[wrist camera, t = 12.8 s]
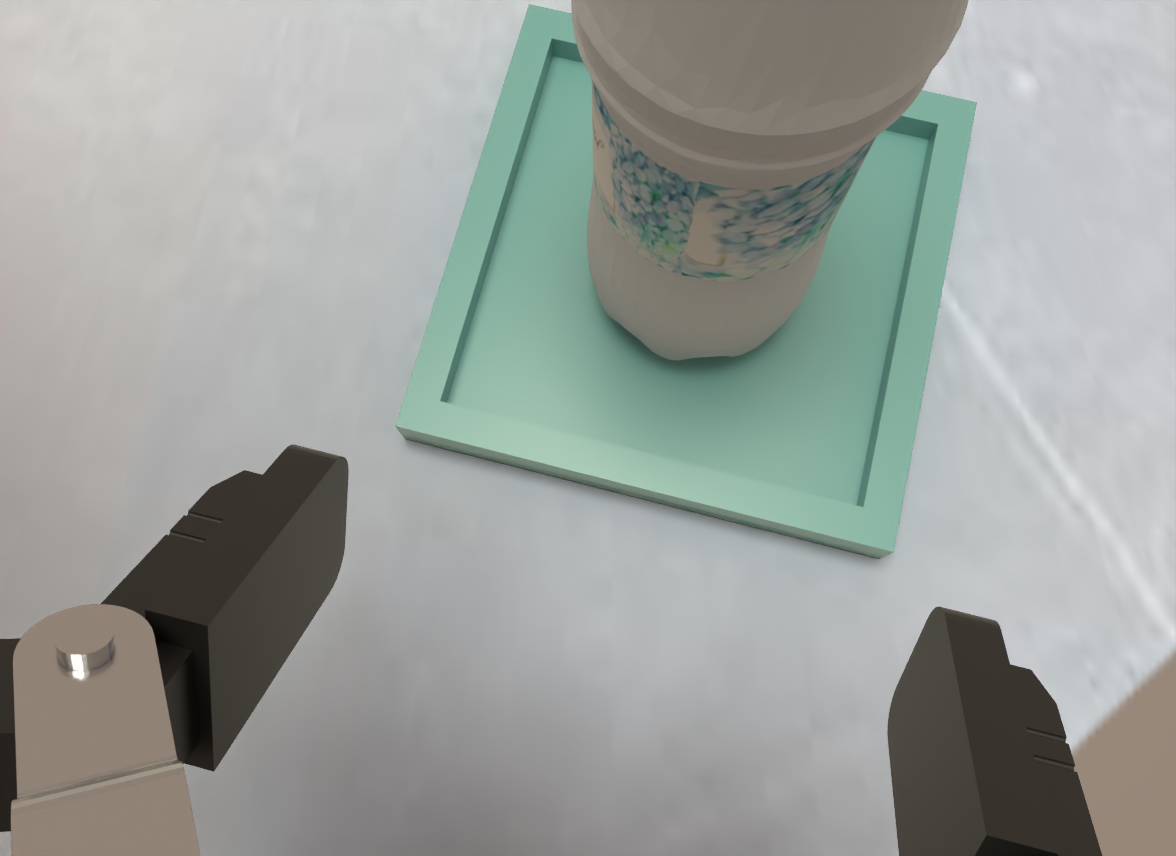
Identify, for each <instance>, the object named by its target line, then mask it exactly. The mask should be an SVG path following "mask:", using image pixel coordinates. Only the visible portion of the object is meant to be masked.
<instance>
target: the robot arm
mask: <svg viewBox="0 0 1176 856" xmlns="http://www.w3.org/2000/svg"><path fill="white" fill-rule="evenodd" d="M347 491H348V463H347V460H346V458H345V457H341V456H337V455H333V454H329V453H325V452H321V451H317V450H313V449H309V448H305V447H301V446H297V445H290V446H288V447H287V448H286V449H285V450H284V451H283V452H282V453H281V455H280V456H279V457H278V458H277V459H276V460H275V461H274V463H273V464H272V465H271V466H270V467H269V468H268V469H267V471H266V472H265V473H264V474H263V475H261V474H257V473H253V472H249V471H245V470H244V471H242V472H240V473H238V474H236V475H234V476H232V477H230V478H228V479H226V480H224V481H222V482H220V483H218V484H216V485H214V486H212V487H211V488H210V489H209V490H208V491H207V492H206V493H205V494H204V495H203V496H202V497H201V498H200V499H199V500H198V501H197V502H196V503H195V504H194V506H193V507H192V508H191V509H190V510H189V512H188V515H187V516H185V515H184V516H183V517H182V518H181V519H180V520H179V521H178V522H177V524H176V525H175V526H174V527H173V528H172V529H171V530H170V534H169V536H168V535H165V536H164V537H163V538H162V539H161V541H160V542H159V543H158V544H157V545H156V546H155V547H154V548H153V549H152V550H151V551H150V552H149V553H148V554H147V555H146V556H145V557H144V559H143V560H142V561H141V562H140V563H139V564H138V565H137V566H136V567H135V568H134V569H133V570H132V571H131V572H130V573H129V574H128V575H127V577H126V578H125V579H124V580H123V581H122V582H121V583H120V584H119V585H118V586H117V587H116V588H115V589H114V590H113V591H112V592H111V594H110V595H109V596H108V597H107V598H106V599H105V600H104V601H103V602H102V603H101V604H92V605H83V606H78V607H73V608H69V609H66V610H63V611H60V612H57V613H55V614H53V615H51V616H48V617H46V618H45V619H43V620H41V621H40V622H38V623H37V624H35V625H34V626H33V627H32V628H30V629H29V630H28V631H27V632H26V633H25V634H24V635H23V636H22V638H20V639H0V832H5V831H11V847H12V856H200V851H199V846H198V840H197V835H196V830H195V825H194V819H193V814H192V809H191V804H190V798H189V793H188V788H187V783H186V777H185V773H184V768H183V764H184V763H185V764H189V765H193V766H196V767H200V768H203V769H207V770H211V771H215V769H216V768H217V766H218V765H219V763H220V761H221V760H222V758H223V757H224V755H225V754H226V752H227V751H228V749H229V748H230V746H231V744H232V743H233V741H234V740H235V738H236V737H237V735H238V734H239V732H240V730H241V729H242V727H243V726H244V724H245V723H246V721H247V720H248V718H249V717H250V715H251V713H252V712H253V710H254V709H255V707H256V706H257V704H258V703H259V701H260V700H261V698H262V696H263V695H264V693H265V692H266V690H267V689H268V687H269V686H270V684H271V682H272V681H273V679H274V678H275V676H276V675H277V673H278V672H279V670H280V669H281V667H282V665H283V664H284V662H285V661H286V659H287V658H288V656H289V655H290V653H291V651H292V650H293V648H294V647H295V645H296V644H297V642H298V641H299V639H300V638H301V636H302V634H303V633H304V631H305V630H306V628H307V627H308V625H309V624H310V622H311V620H312V619H313V617H314V616H315V614H316V613H317V611H318V610H319V608H320V607H321V605H322V603H323V602H324V600H325V599H326V597H327V596H328V594H329V593H330V591H331V589H332V587H333V585H334V583H335V581H336V579H337V576H338V573H339V570H340V567H341V563H342V560H343V555H344V548H345V532H346V511H347ZM1065 741H1066V734H1065V731H1064V727H1063V724H1062V721H1061V717H1060V714H1059V711H1058V707H1057V704H1056V702H1055V701H1054V700H1053V698H1052V697H1051V696H1050V694H1049V693H1048V692H1047V690H1046V689H1045V688H1044V686H1043V685H1042V684H1041V682H1040V681H1039V680H1038V678H1037V677H1036V676H1035V674H1034V673H1033V672H1032V671H1031V670H1030V669H1026V668H1022V667H1018V666H1014V665H1010V663H1009V659H1008V655H1007V651H1006V648H1005V644H1004V640H1003V636H1002V632H1001V629H1000V626H999V624H998V623H997V622H996V621H995V620H991V619H987V618H983V617H979V616H975V615H971V614H967V613H963V612H959V611H955V610H951V609H947V608H943V607H936V608H935V609H934V610H933V611H932V612H931V614H930V615H929V617H928V619H927V621H926V623H925V626H924V628H923V630H922V632H921V634H920V637H919V639H918V641H917V643H916V645H915V648H914V650H913V652H912V654H911V656H910V659H909V661H908V663H907V665H906V667H905V670H904V672H903V674H902V676H901V678H900V681H899V683H898V685H897V687H896V690H895V692H894V695H893V699H892V702H891V707H890V712H889V719H888V745H889V756H890V766H891V776H892V786H893V797H894V807H895V817H896V827H897V838H898V848H899V856H1102V853H1101V850H1100V847H1099V843H1098V840H1097V837H1096V834H1095V830H1094V827H1093V824H1092V820H1091V817H1090V814H1089V810H1088V807H1087V804H1086V800H1085V797H1084V794H1083V790H1082V787H1081V784H1080V780H1079V777H1078V774H1077V772H1074V766H1075V764H1074V761H1073V757H1072V754H1071V751H1070V747H1069V744H1067V743H1065Z"/></svg>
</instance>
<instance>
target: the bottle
mask: <svg viewBox="0 0 1176 856" xmlns="http://www.w3.org/2000/svg"><path fill="white" fill-rule="evenodd" d="M967 4H968V0H572V23H573V30H574V36H575V40H576V43H577V47H578V50H579V53H580V56H581V58H582V61H583V63H584V65H585V67H586V69H587V71H588V73H589V75H590V77H591V79H592V131H593V182H592V190H591V197H590V204H589V212H588V222H587V251H588V260H589V268H590V272H591V276H592V280H593V284H594V288H595V291H596V294H597V297H598V299H599V301H600V303H601V305H602V307H603V309H604V310H605V312H606V314H607V315H608V316H609V317H610V318H611V319H613V320H615V321H616V322H618V323H619V324H620V325H622V326H623V327H624V328H625V329H626V330H628V331H629V332H630V333H631V334H633V335H634V336H635V337H636V338H638V339H639V340H640V341H641V342H642V343H643V344H644V345H646V346H647V347H648V348H649V349H650V350H651V351H652V352H653V353H655V354H657V355H659V356H660V357H663V358H666V359H668V360H677V361H679V360H684V359H690V358H700V357H715V356H729V357H734V356H739V355H743V354H745V353H747V352H749V351H751V350H753V349H755V348H757V347H758V346H759V345H761V344H762V343H763V342H764V341H765V340H766V339H768V338H769V337H770V336H771V335H772V334H773V333H774V332H775V331H776V330H777V329H778V328H779V327H780V326H782V325H783V324H784V323H785V322H786V321H787V320H788V318H789V317H790V316H791V314H792V313H793V312H794V311H795V309H796V308H797V307H798V305H799V304H800V303H801V301H802V300H803V298H804V296H805V294H806V292H807V290H808V288H809V286H810V284H811V282H812V280H813V277H814V275H815V272H816V270H817V268H818V265H819V262H820V259H821V256H822V253H823V250H824V246H825V243H826V240H827V237H828V234H829V231H830V227H831V225H832V223H833V221H834V219H835V217H836V215H837V213H838V211H839V210H840V208H841V206H842V204H843V202H844V200H845V198H846V196H847V194H848V192H849V190H850V188H851V186H852V184H853V182H854V180H855V178H856V176H857V174H858V172H859V170H860V168H861V166H862V164H863V162H864V160H865V158H866V156H867V154H868V152H869V150H870V148H871V146H872V144H873V142H874V140H875V138H876V136H878V135H879V134H880V133H882V132H883V131H884V130H885V129H887V128H888V127H889V126H890V125H892V124H893V123H894V122H895V121H896V120H897V119H898V118H899V117H900V116H901V115H902V114H903V113H904V112H905V111H906V110H907V109H908V108H909V107H910V106H911V104H912V103H913V102H914V100H915V99H916V97H917V96H918V94H919V93H920V91H921V90H922V88H923V86H924V84H925V82H926V80H927V78H928V76H929V75H930V73H931V71H932V70H933V68H934V67H935V66H936V65H937V63H938V62H939V61H940V60H941V58H942V57H943V56H944V55H945V53H946V51H947V50H948V48H949V46H950V44H951V42H952V41H953V39H954V37H955V35H956V33H957V31H958V30H959V28H960V26H961V23H962V20H963V17H964V14H965V11H966V8H967Z"/></svg>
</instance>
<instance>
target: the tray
mask: <svg viewBox="0 0 1176 856" xmlns="http://www.w3.org/2000/svg"><path fill="white" fill-rule="evenodd" d="M976 104H977V102H973V101H968V100H964V99H959V98H954V97H950V96H945V95H941V94H936V93H932V92H927V91H922V90H921V91H920V93H919V94H918V96H917V97H916V99H915V100H914V102H913V103H912V104H911V106H910V107H909V108H908V109H907V110H906V111H905V112H904V113H903V114H902V115H901V116H900V117H899V118H898V119H897V120H896V121H895V122H894V123H893V124H892V125H890V126H889V127H888V128H887V129H885V130H884V131H883V132H882V133H880V134H879V135H878V136H876V138H875V140H874V142H873V144H872V146H871V148H870V150H869V152H868V154H867V156H866V158H865V160H864V162H863V164H862V166H861V168H860V170H859V172H858V174H857V176H856V178H855V180H854V182H853V184H852V186H851V188H850V190H849V192H848V194H847V196H846V198H845V200H844V202H843V204H842V206H841V208H840V210H839V211H838V213H837V215H836V217H835V219H834V221H833V223H832V225H831V227H830V231H829V234H828V237H827V240H826V243H825V246H824V250H823V253H822V256H821V259H820V262H819V265H818V268H817V270H816V272H815V275H814V277H813V280H812V282H811V284H810V286H809V288H808V290H807V292H806V294H805V296H804V298H803V300H802V301H801V303H800V304H799V305H798V307H797V308H796V309H795V311H794V312H793V313H792V314H791V316H790V317H789V318H788V320H787V321H786V322H785V323H784V324H783V325H782V326H780V327H779V328H778V329H777V330H776V331H775V332H774V333H773V334H772V335H771V336H770V337H769V338H768V339H766V340H765V341H764V342H763V343H762V344H761V345H759V346H758V347H757V348H755V349H753V350H751V351H749V352H747V353H745V354H743V355H739V356H734V357H729V356H715V357H700V358H690V359H684V360H679V361H677V360H668V359H666V358H663V357H660V356H659V355H657V354H655V353H653V352H652V351H651V350H650V349H649V348H648V347H647V346H646V345H644V344H643V343H642V342H641V341H640V340H639V339H638V338H636V337H635V336H634V335H633V334H631V333H630V332H629V331H628V330H626V329H625V328H624V327H623V326H622V325H620V324H619V323H618V322H616V321H615V320H613V319H611V318H610V317H609V316H608V315H607V314H606V312H605V310H604V309H603V307H602V305H601V303H600V301H599V299H598V297H597V294H596V291H595V288H594V284H593V280H592V276H591V272H590V268H589V260H588V251H587V222H588V212H589V204H590V197H591V190H592V182H593V131H592V79H591V77H590V75H589V73H588V71H587V69H586V67H585V65H584V63H583V61H582V58H581V56H580V53H579V50H578V47H577V43H576V40H575V36H574V30H573V23H572V14H571V13H567V12H562V11H557V10H553V9H548V8H544V7H539V6H535V5H530V4H529V6H528V9H527V12H526V16H525V19H524V22H523V25H522V28H521V31H520V34H519V38H518V41H517V44H516V47H515V50H514V53H513V57H512V60H511V63H510V66H509V69H508V72H507V75H506V79H505V82H504V85H503V88H502V91H501V94H500V97H499V101H498V104H497V107H496V110H495V113H494V116H493V120H492V123H491V126H490V129H489V132H488V135H487V138H486V142H485V145H484V148H483V151H482V154H481V157H480V161H479V164H478V167H477V170H476V173H475V176H474V179H473V183H472V186H471V189H470V192H469V195H468V198H467V201H466V205H465V208H464V211H463V214H462V217H461V220H460V224H459V227H458V230H457V233H456V236H455V239H454V242H453V246H452V249H451V252H450V255H449V258H448V261H447V264H446V268H445V271H444V274H443V277H442V280H441V283H440V287H439V290H438V293H437V296H436V299H435V302H434V305H433V309H432V312H431V315H430V318H429V321H428V324H427V327H426V331H425V334H424V337H423V340H422V343H421V346H420V350H419V353H418V356H417V359H416V362H415V365H414V368H413V372H412V375H411V378H410V381H409V384H408V387H407V391H406V394H405V397H404V400H403V403H402V406H401V409H400V413H399V416H398V419H397V422H396V425H395V426H396V427H397V429H398V430H399V431H400V433H401V434H402V435H403V436H404V438H405V439H408V440H412V441H416V442H420V443H424V444H428V445H432V446H436V447H440V448H444V449H448V450H452V451H456V452H460V453H464V454H467V455H471V456H475V457H479V458H483V459H487V460H491V461H495V462H499V463H503V464H507V465H511V466H515V467H519V468H523V469H527V470H531V471H534V472H538V473H542V474H546V475H550V476H554V477H558V478H562V479H566V480H570V481H574V482H578V483H582V484H586V485H590V486H594V487H597V488H601V489H605V490H609V491H613V492H617V493H621V494H625V495H629V496H633V497H637V498H641V499H645V500H649V501H653V502H657V503H660V504H664V505H668V506H672V507H676V508H680V509H684V510H688V511H692V512H696V513H700V514H704V515H708V516H712V517H716V518H720V519H723V520H727V521H731V522H735V523H739V524H743V525H747V526H751V527H755V528H759V529H763V530H767V531H771V532H775V533H779V534H783V535H787V536H790V537H794V538H798V539H802V540H806V541H810V542H814V543H818V544H822V545H826V546H830V547H834V548H838V549H842V550H846V551H850V552H853V553H857V554H861V555H865V556H869V557H873V558H877V559H879V558H881V557H883V556H886V555H888V554H890V553H892V552H894V546H895V541H896V535H897V530H898V525H899V519H900V514H901V508H902V503H903V498H904V492H905V487H906V482H907V476H908V471H909V465H910V460H911V455H912V449H913V444H914V438H915V433H916V428H917V422H918V417H919V411H920V406H921V401H922V395H923V390H924V384H925V379H926V374H927V368H928V363H929V357H930V352H931V347H932V341H933V336H934V330H935V325H936V320H937V314H938V309H939V303H940V298H941V293H942V287H943V282H944V276H945V271H946V266H947V260H948V255H949V249H950V244H951V239H952V233H953V228H954V222H955V217H956V212H957V206H958V201H959V196H960V190H961V185H962V179H963V174H964V169H965V163H966V158H967V152H968V147H969V142H970V136H971V131H972V125H973V120H974V115H975V109H976Z"/></svg>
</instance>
